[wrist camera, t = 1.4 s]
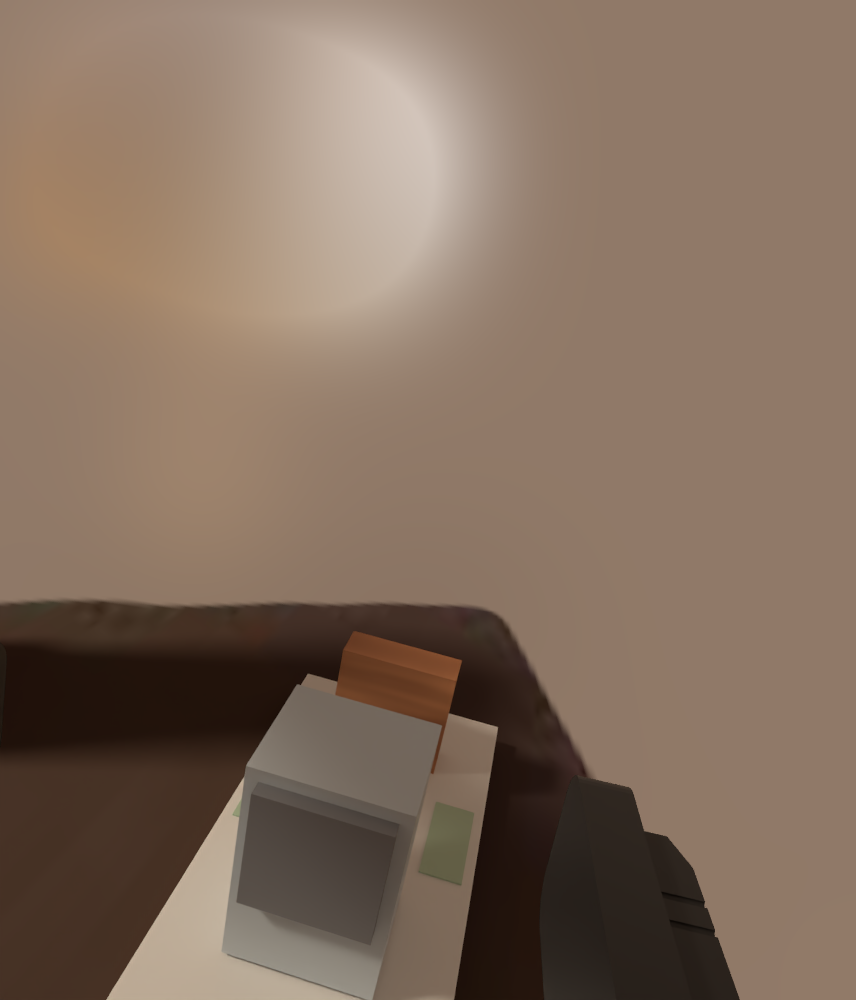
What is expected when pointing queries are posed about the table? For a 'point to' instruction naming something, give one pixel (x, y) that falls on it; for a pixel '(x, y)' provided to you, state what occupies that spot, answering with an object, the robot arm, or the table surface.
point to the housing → (418, 920)
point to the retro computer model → (327, 838)
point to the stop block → (398, 679)
